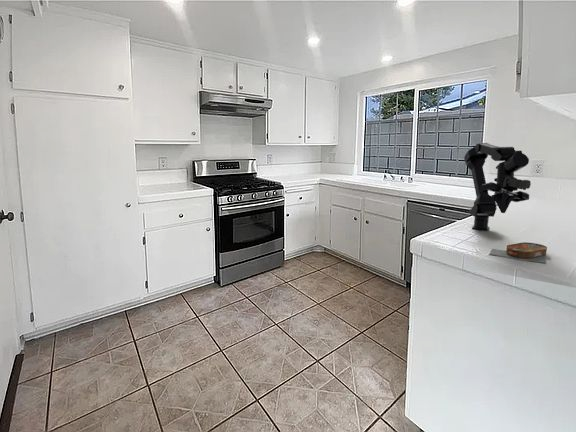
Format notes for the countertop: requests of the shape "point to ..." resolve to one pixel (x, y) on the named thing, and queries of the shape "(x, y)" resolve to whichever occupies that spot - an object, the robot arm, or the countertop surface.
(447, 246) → the countertop surface
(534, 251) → the tin
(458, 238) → the countertop surface
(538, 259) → the mat
